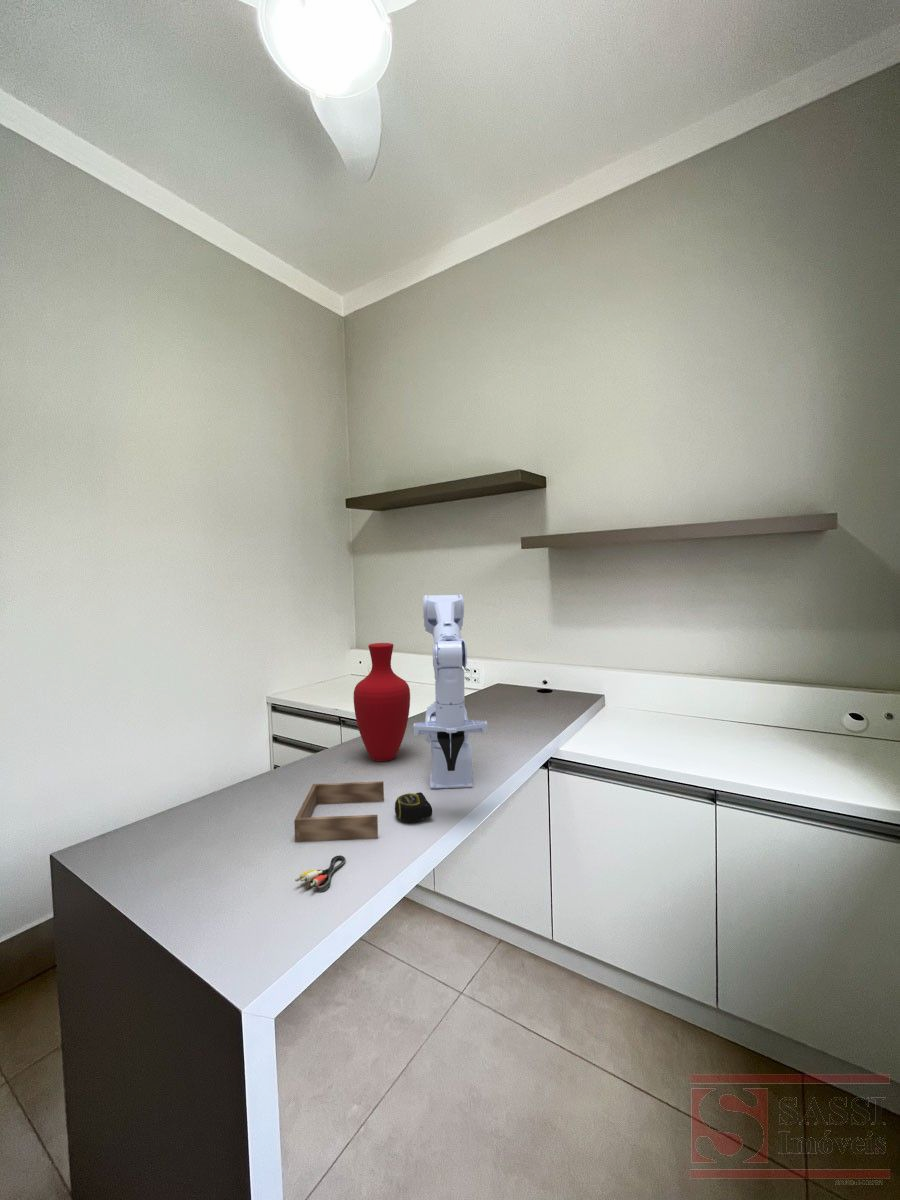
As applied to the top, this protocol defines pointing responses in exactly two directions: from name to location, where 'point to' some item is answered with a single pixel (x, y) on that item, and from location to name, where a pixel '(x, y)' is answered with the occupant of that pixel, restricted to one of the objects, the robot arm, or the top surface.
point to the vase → (382, 706)
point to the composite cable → (321, 875)
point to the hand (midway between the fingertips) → (451, 769)
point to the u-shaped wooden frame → (338, 825)
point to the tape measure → (412, 807)
